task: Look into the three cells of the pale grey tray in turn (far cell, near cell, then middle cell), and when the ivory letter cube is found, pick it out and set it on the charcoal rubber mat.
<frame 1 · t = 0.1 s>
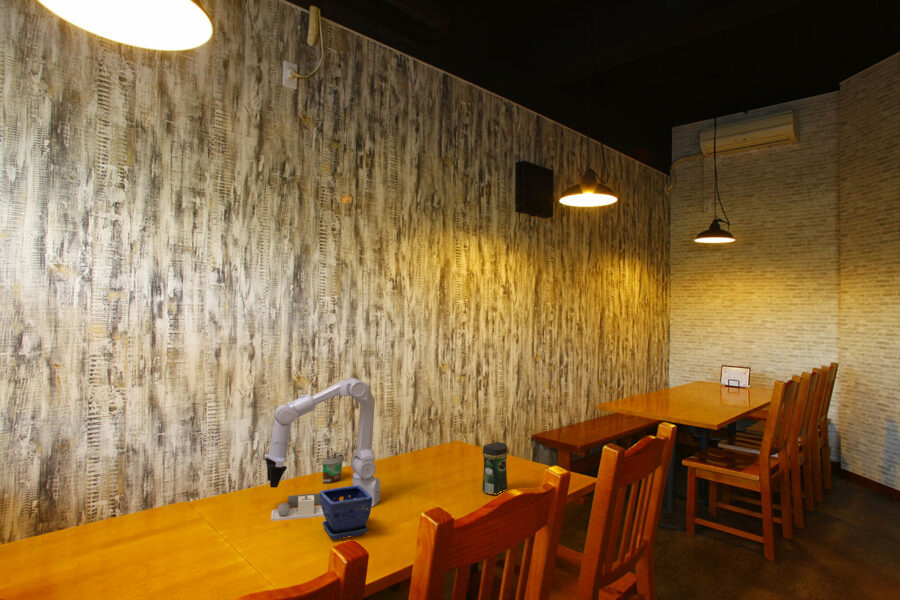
hand: (272, 483, 171), 10 cm above the table, tool pointing down, fingers open, 7 cm apart
flower pot: (344, 533, 159), on the table
food container: (335, 481, 209), on the table
grey ball: (283, 515, 171), resting on sorting tray
coffee jar: (494, 492, 199), on the table
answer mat: (304, 501, 185), on the table
letter cube: (305, 513, 173), resting on sorting tray
sorting tray: (305, 514, 173), on the table
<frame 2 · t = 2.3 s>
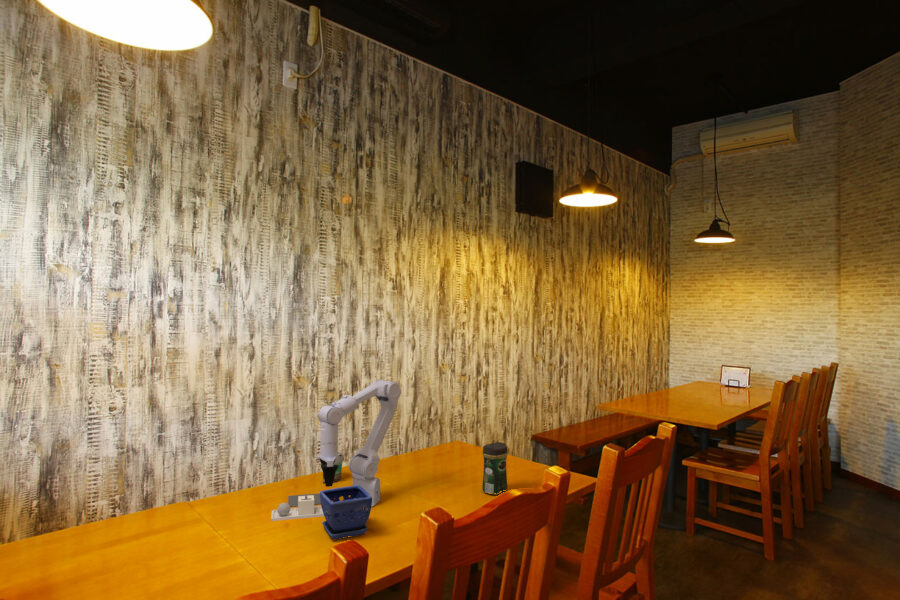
hand: (328, 482, 175), 10 cm above the table, tool pointing down, fingers open, 7 cm apart
nothing on the table moved.
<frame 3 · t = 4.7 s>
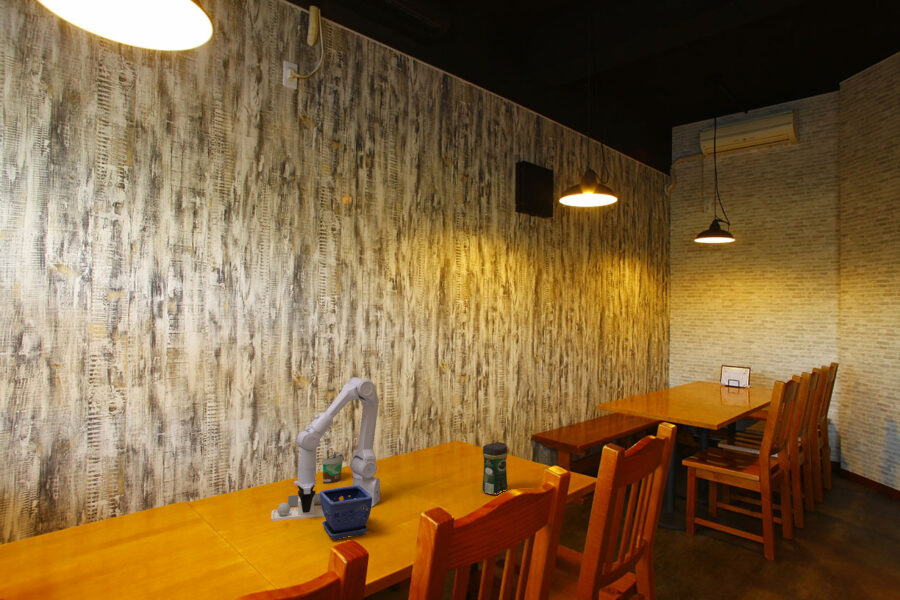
hand: (305, 509, 173), 2 cm above the table, tool pointing down, fingers closed on letter cube, 5 cm apart
letter cube: (305, 513, 173), resting on sorting tray, touching gripper
everything else where it was.
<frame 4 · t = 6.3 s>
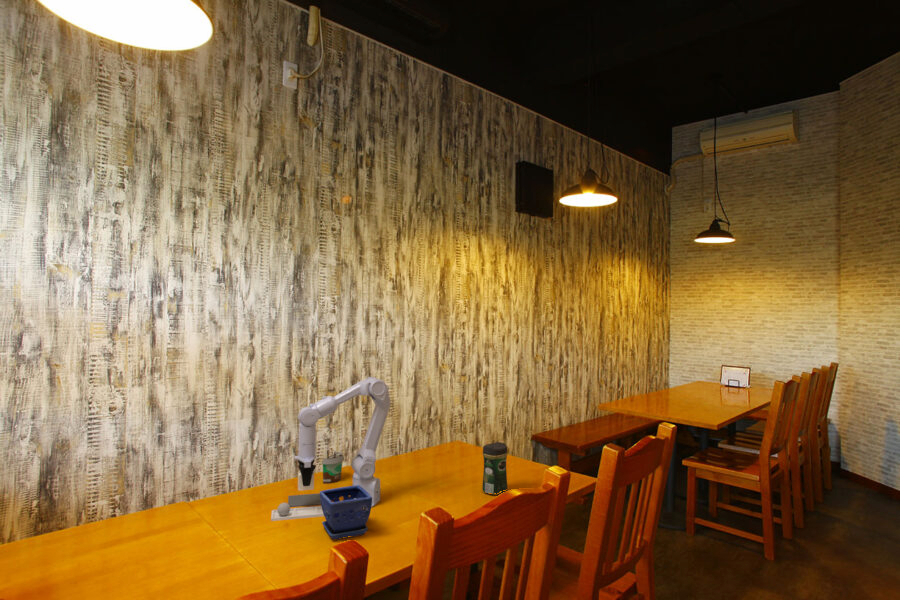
hand: (306, 483, 177), 9 cm above the table, tool pointing down, fingers closed on letter cube, 5 cm apart
letter cube: (305, 487, 177), point 7 cm above the table, touching gripper
everything else where it was.
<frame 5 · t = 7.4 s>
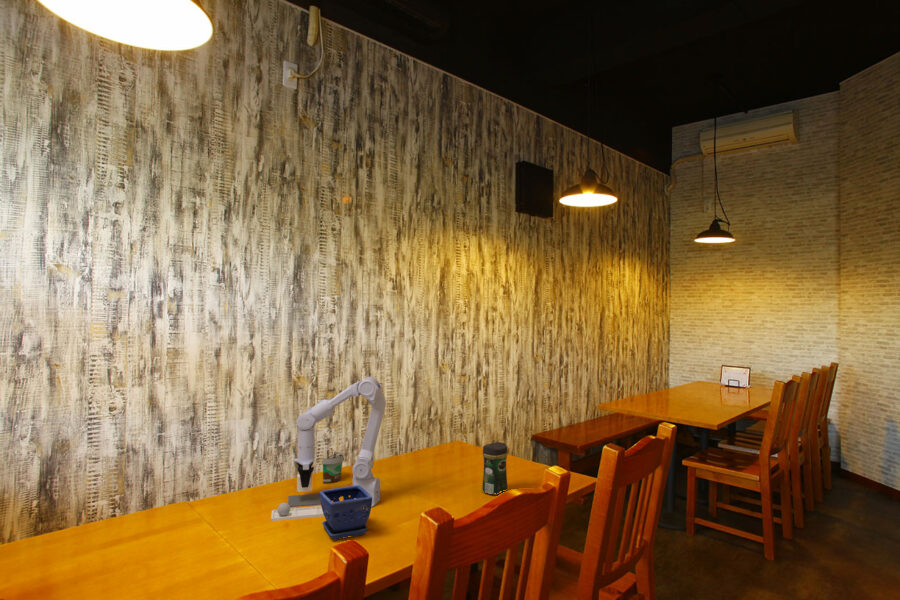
hand: (304, 484, 185), 6 cm above the table, tool pointing down, fingers closed on letter cube, 5 cm apart
letter cube: (304, 488, 185), point 4 cm above the table, touching gripper
everything else where it was.
when the fingers open (4 cm above the table, at t = 8.3 s): letter cube drops 2 cm, resting on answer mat.
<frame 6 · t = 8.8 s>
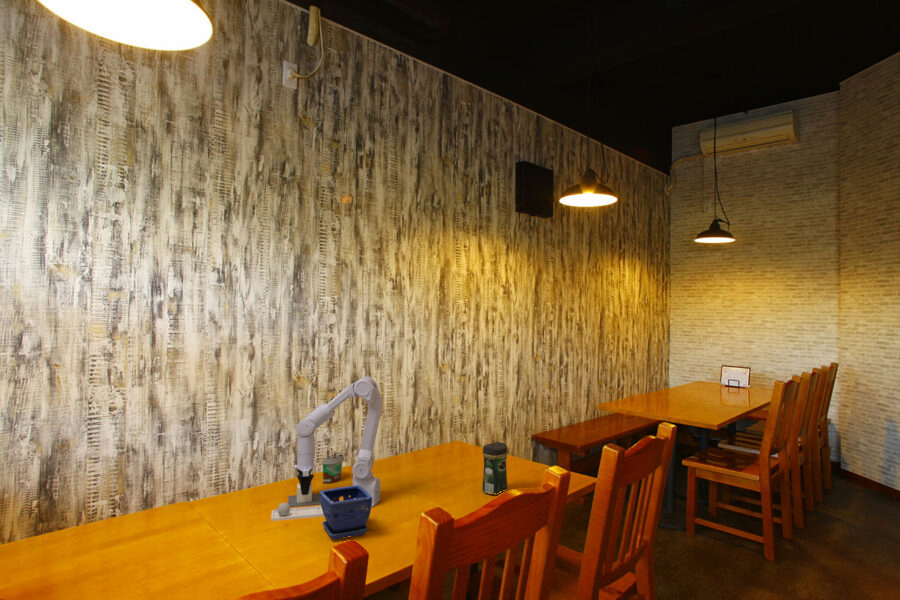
hand: (304, 491, 185), 4 cm above the table, tool pointing down, fingers open, 7 cm apart
letter cube: (304, 499, 185), point 1 cm above the table, touching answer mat
everything else where it was.
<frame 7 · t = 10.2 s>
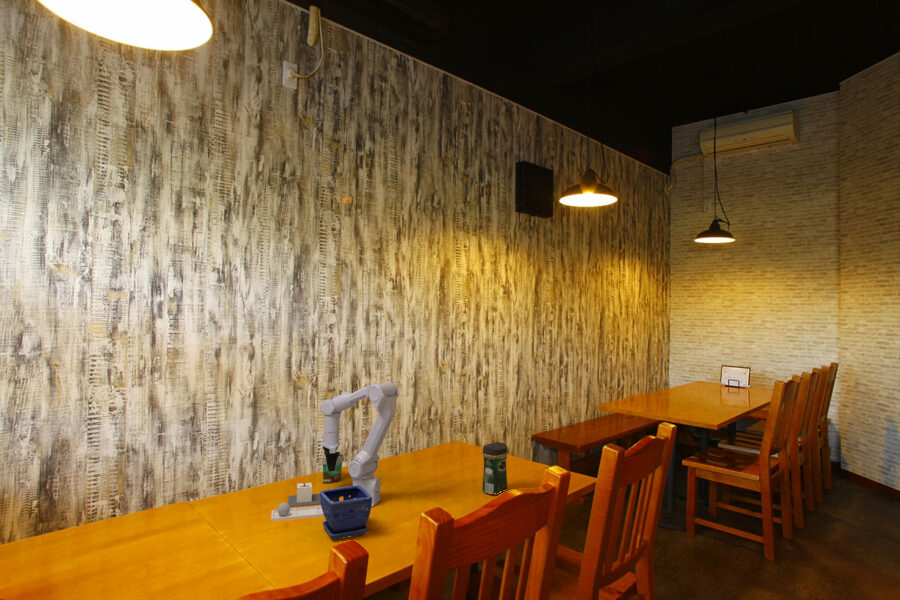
hand: (330, 468, 194), 9 cm above the table, tool pointing down, fingers open, 7 cm apart
nothing on the table moved.
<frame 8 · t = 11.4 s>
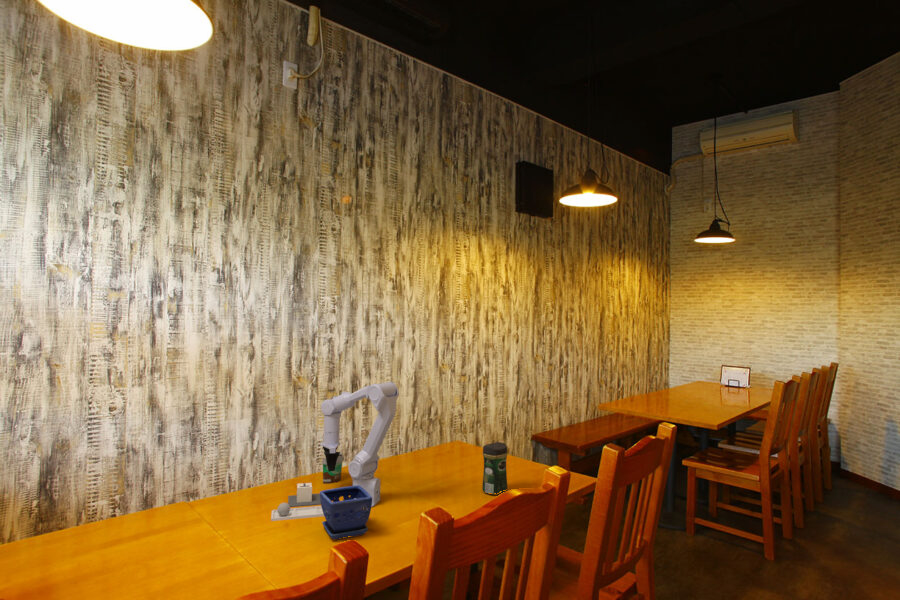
hand: (330, 468, 194), 9 cm above the table, tool pointing down, fingers open, 7 cm apart
nothing on the table moved.
at the end: letter cube inside the target area on the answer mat (0.1 cm from its centre), point 0.6 cm above the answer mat's base; letter cube tilted 0°; the gripper is holding nothing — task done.
